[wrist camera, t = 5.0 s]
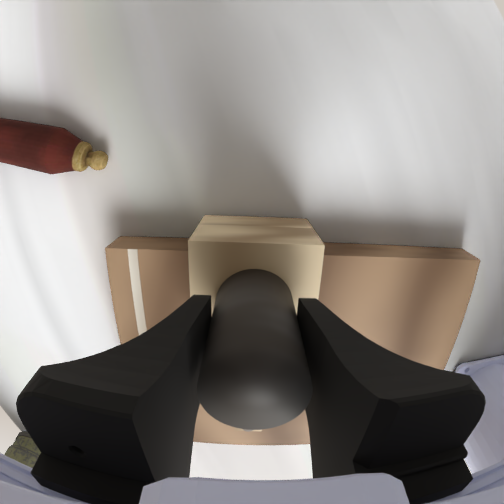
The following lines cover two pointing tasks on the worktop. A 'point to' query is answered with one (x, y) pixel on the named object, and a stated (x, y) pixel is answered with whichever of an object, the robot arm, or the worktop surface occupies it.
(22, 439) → the olive green rounded piece
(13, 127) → the gavel
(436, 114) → the worktop surface
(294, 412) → the rubber stamp
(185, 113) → the worktop surface
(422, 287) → the board
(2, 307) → the worktop surface
